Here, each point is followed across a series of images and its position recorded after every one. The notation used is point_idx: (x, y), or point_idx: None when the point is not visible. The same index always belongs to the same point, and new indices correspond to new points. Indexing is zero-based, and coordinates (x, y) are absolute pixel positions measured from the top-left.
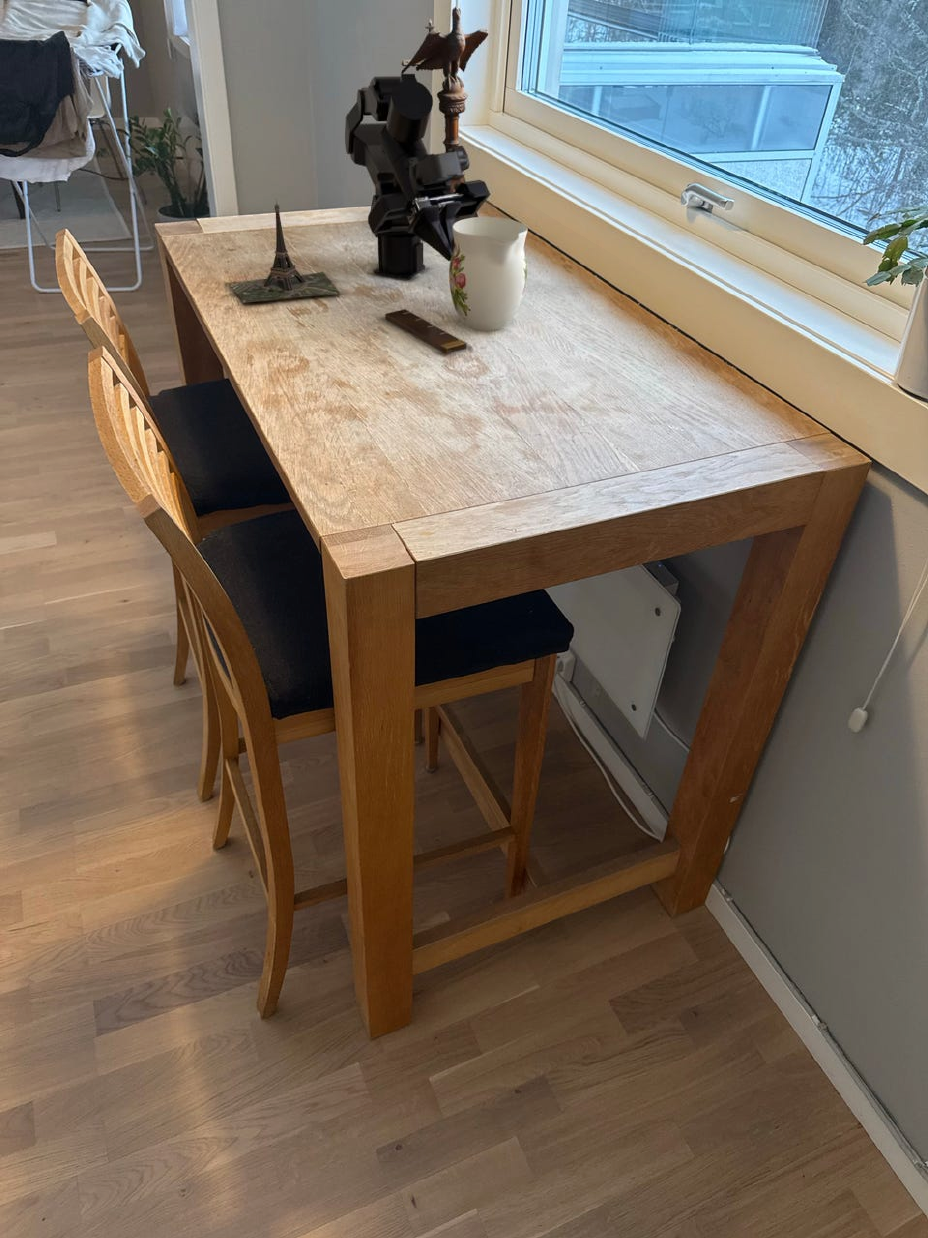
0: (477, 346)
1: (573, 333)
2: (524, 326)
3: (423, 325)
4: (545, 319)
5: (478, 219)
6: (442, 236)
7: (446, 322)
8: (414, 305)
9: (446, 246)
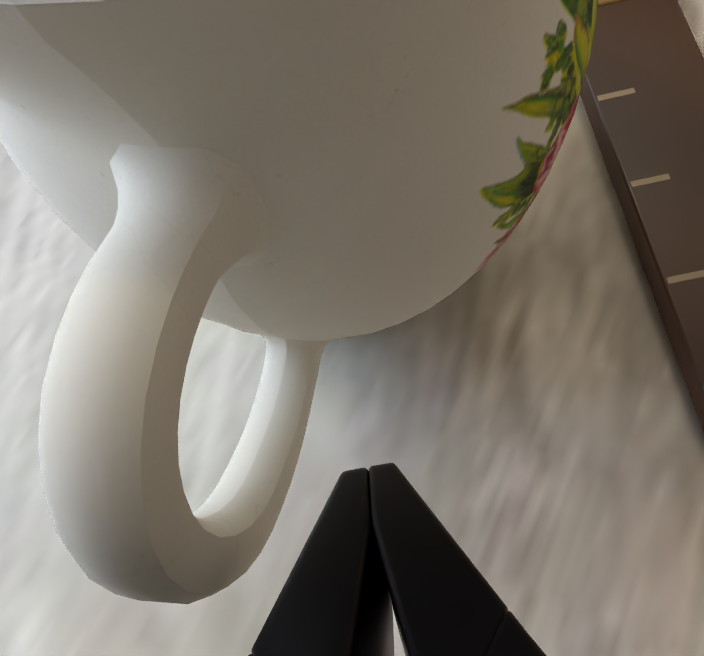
0: None
1: None
2: None
3: (684, 201)
4: None
5: (24, 20)
6: (458, 606)
7: (521, 273)
8: (611, 565)
9: (427, 518)
